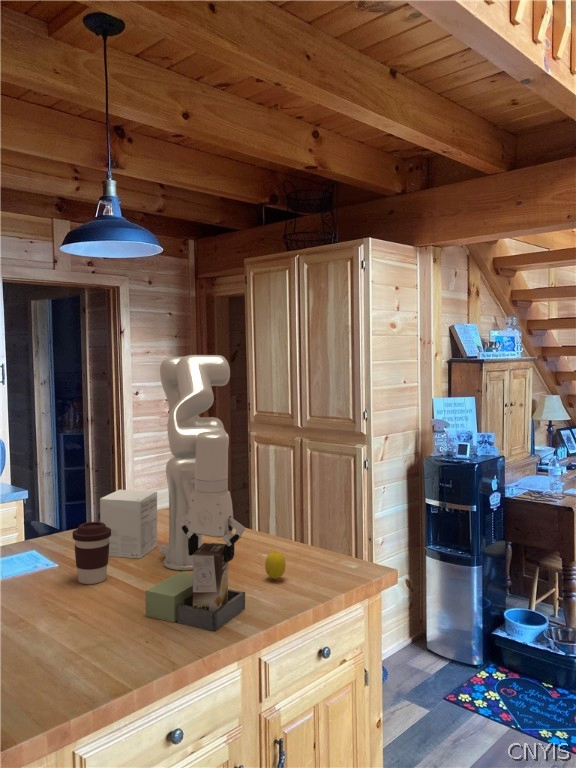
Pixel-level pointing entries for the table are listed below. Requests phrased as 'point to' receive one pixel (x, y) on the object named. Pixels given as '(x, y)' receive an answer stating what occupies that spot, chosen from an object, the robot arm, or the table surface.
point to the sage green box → (170, 596)
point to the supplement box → (130, 522)
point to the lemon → (275, 565)
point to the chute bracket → (213, 613)
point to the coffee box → (210, 577)
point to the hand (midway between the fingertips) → (210, 557)
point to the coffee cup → (91, 551)
